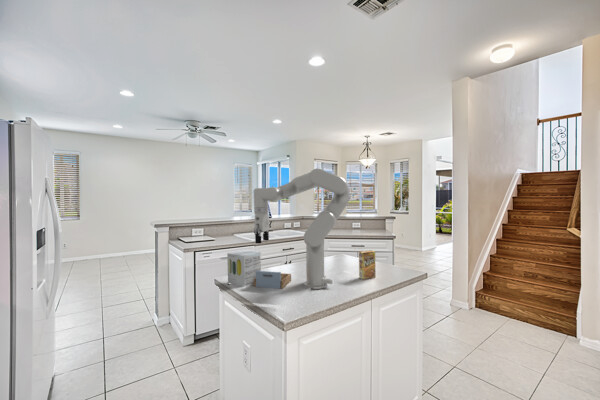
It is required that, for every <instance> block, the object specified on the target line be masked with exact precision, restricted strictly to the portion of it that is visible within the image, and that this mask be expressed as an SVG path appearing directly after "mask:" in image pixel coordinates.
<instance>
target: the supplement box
mask: <svg viewBox="0 0 600 400" xmlns="http://www.w3.org/2000/svg"><path fill="white" fill-rule="evenodd" d="M261 253H262V252H261V251H260V250H252V249H247V248H246V249H245V248H244V249H239V250H238V249H237V250H234V251H231V252H227V253H226V255H227V257H226V258H227V284H228V283H231V284H230V285H236V286H239V287H244V288H245V287H247V286H250V285H252V284H253V285H254V279H255V278H256V271H262V269H261V267H262V266H261V265H262V261H261V259H262V258H261V257H262V256H261Z"/></svg>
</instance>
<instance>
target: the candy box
mask: <svg viewBox="0 0 600 400" xmlns="http://www.w3.org/2000/svg"><path fill="white" fill-rule="evenodd" d="M358 272H359V273H358V275H359V277H358V278H359V279H361V280H366V279H375V278H376V277H377V275H376V251H375V250H365V251H364V250H362V251H358Z"/></svg>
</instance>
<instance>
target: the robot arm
mask: <svg viewBox="0 0 600 400" xmlns="http://www.w3.org/2000/svg"><path fill="white" fill-rule="evenodd" d="M317 187H319V188H321V189H324V190H326V191H329V192H331V193H332V194H333V196H332V197H331V200H329V202H328V203H327V205H326V206H325V207H324V209H323V210H322V211H320V213H319V214H318V215H317V216H316V217H315V218H314V220H313V221H312V222H311V224H310V225H309V227H308V228H307V229H306V231H305V232H304V234H303V241H304V243H305V245H306V249H305V254H306V255H305V258H306V259H305V260H306V261H305V262H306V269H305V270H306V272H305V273H306V280H305V281H304V282H303V285H304V286H306V287H309V288H311V290H321V289H325V288H327V287H328V284H329V285H333V280H332V279H330V278H327V276H326V275H325V239H326V237H327V236H328V235H329V233H330V232H331V231H332V229H333V228H334V227H335V224H336V222H337V220H338V219H339V218H340V216H341V214H342V213H343V212H344V210H345V209H346V207H347V206H348V204H349V201H350V197H351V196H350V195H351V193H350V187H349V185H348V182H347V181H346V179H345V178H343V177H341V176H339V175H336V174H333V173H331V172H329V171H326V170H324V169H321V168H320V167H319V168H318V167H317V168H314V169H312V170H310V172H307V173H304V174H302V175H299V176H296V177H294V178H293V179H292V180H291V181H289V182H287V183H285V184H282V185H279V186H277V187H276V186H274V187H273V186H271V187H267V188H265V187H256V188H253V212H254V227H253V234H254V236H255V237H254V239H255V240H254V241H255V244H262V240H263V241H269V240H270V239H269V238H270V237H269V236H270V235H269V234H270V233H269V231H270V218H269V202H276V201H278V202H279V201H282V200H284V199H287V198H289V197H292V196H294V195H299V194H301V193H304V192H307V191H308V190H312V189H315V188H317Z"/></svg>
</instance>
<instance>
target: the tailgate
mask: <svg viewBox="0 0 600 400" xmlns="http://www.w3.org/2000/svg"><path fill="white" fill-rule="evenodd" d="M281 273H282V272H281V271H268V270H267V271H265V270H261V271H256V288H269V289H281ZM281 290H282V289H281Z"/></svg>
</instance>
